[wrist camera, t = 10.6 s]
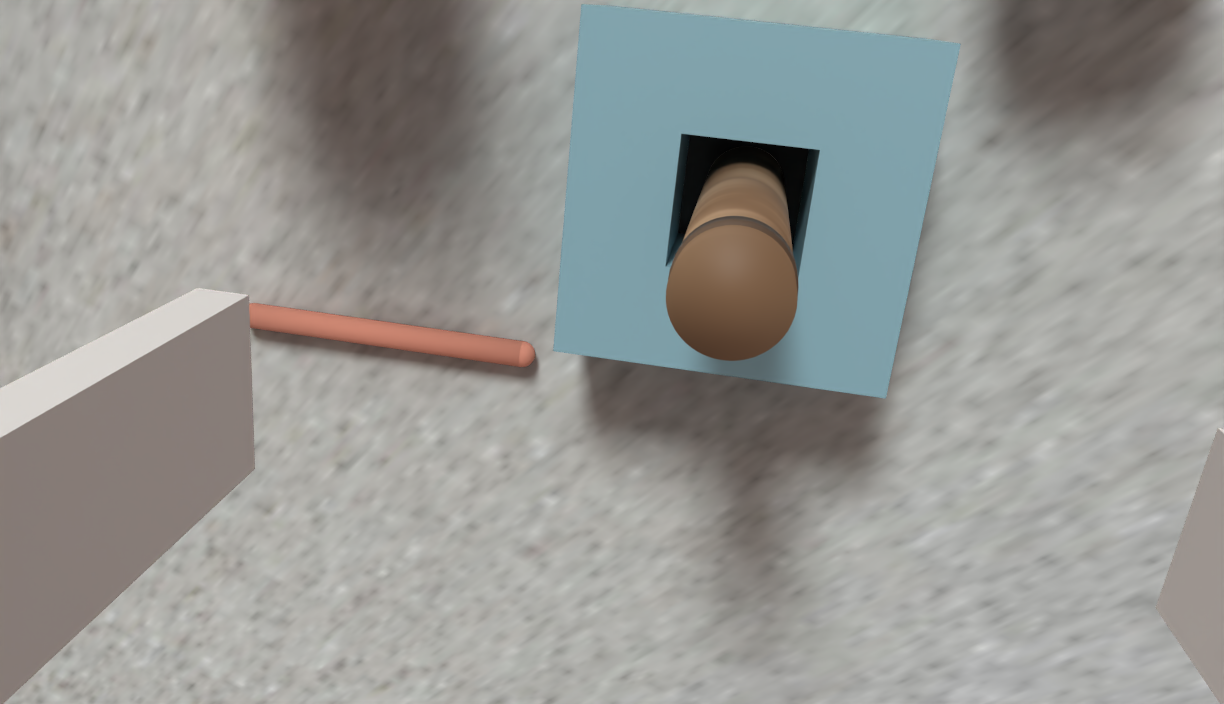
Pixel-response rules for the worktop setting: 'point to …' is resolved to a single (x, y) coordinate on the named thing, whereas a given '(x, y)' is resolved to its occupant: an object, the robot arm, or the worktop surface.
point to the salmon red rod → (391, 335)
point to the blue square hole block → (764, 113)
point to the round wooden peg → (736, 261)
